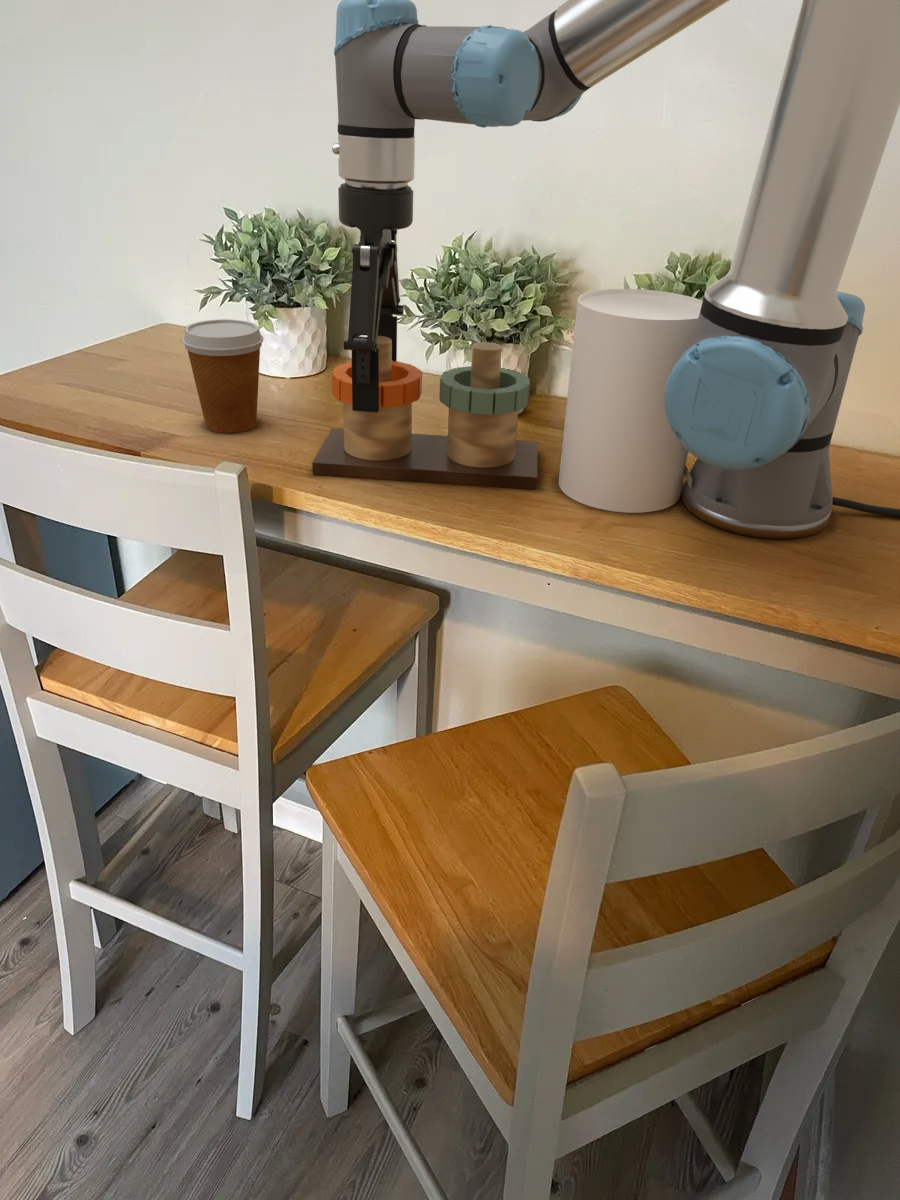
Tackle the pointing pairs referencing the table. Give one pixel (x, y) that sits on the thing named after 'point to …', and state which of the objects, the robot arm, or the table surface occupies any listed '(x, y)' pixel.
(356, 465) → the ring board
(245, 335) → the disposable coffee cup
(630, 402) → the canister
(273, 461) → the table surface
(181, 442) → the table surface
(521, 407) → the sage ring
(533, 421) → the table surface
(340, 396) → the orange ring
